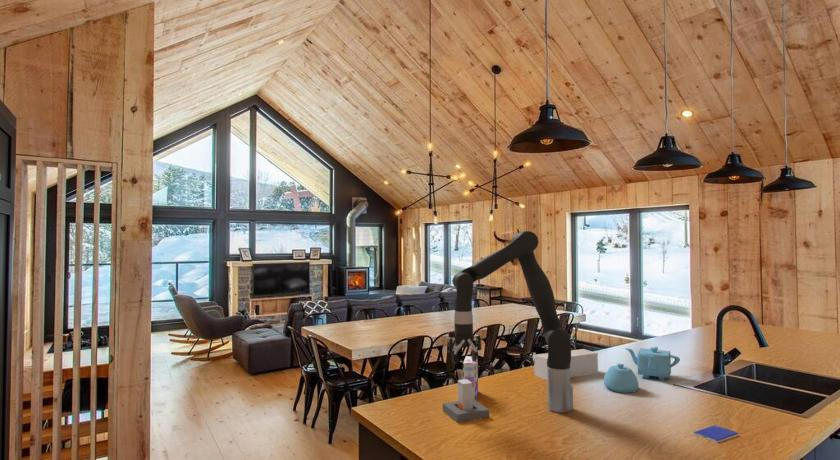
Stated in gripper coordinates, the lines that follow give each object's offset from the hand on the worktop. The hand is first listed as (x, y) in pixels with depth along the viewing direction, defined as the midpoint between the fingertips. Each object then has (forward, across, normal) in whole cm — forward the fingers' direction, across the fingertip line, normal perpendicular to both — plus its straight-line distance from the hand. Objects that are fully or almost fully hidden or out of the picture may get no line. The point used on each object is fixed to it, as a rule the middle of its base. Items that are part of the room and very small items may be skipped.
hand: (464, 362), depth 186 cm
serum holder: (+21, 0, 0) cm, 21 cm away
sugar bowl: (+22, +81, +1) cm, 84 cm away
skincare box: (+20, 0, 0) cm, 20 cm away
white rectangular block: (+22, +74, +31) cm, 83 cm away
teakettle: (+22, +110, +10) cm, 112 cm away
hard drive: (+22, +72, -52) cm, 91 cm away
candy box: (+21, +12, +19) cm, 31 cm away
